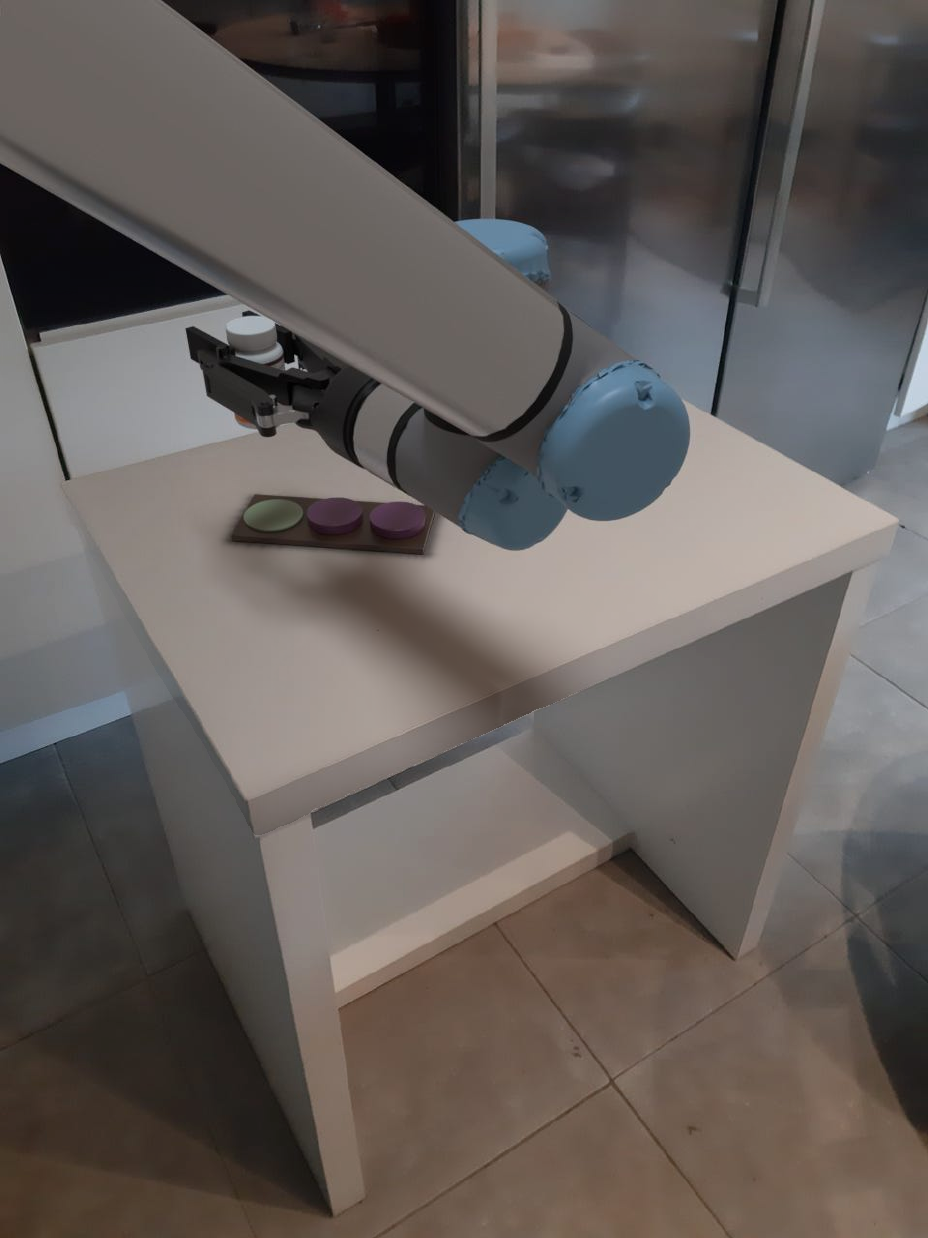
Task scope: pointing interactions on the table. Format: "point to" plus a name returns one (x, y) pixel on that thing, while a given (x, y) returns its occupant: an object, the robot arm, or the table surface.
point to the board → (336, 523)
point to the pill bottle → (255, 345)
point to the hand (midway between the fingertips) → (220, 334)
